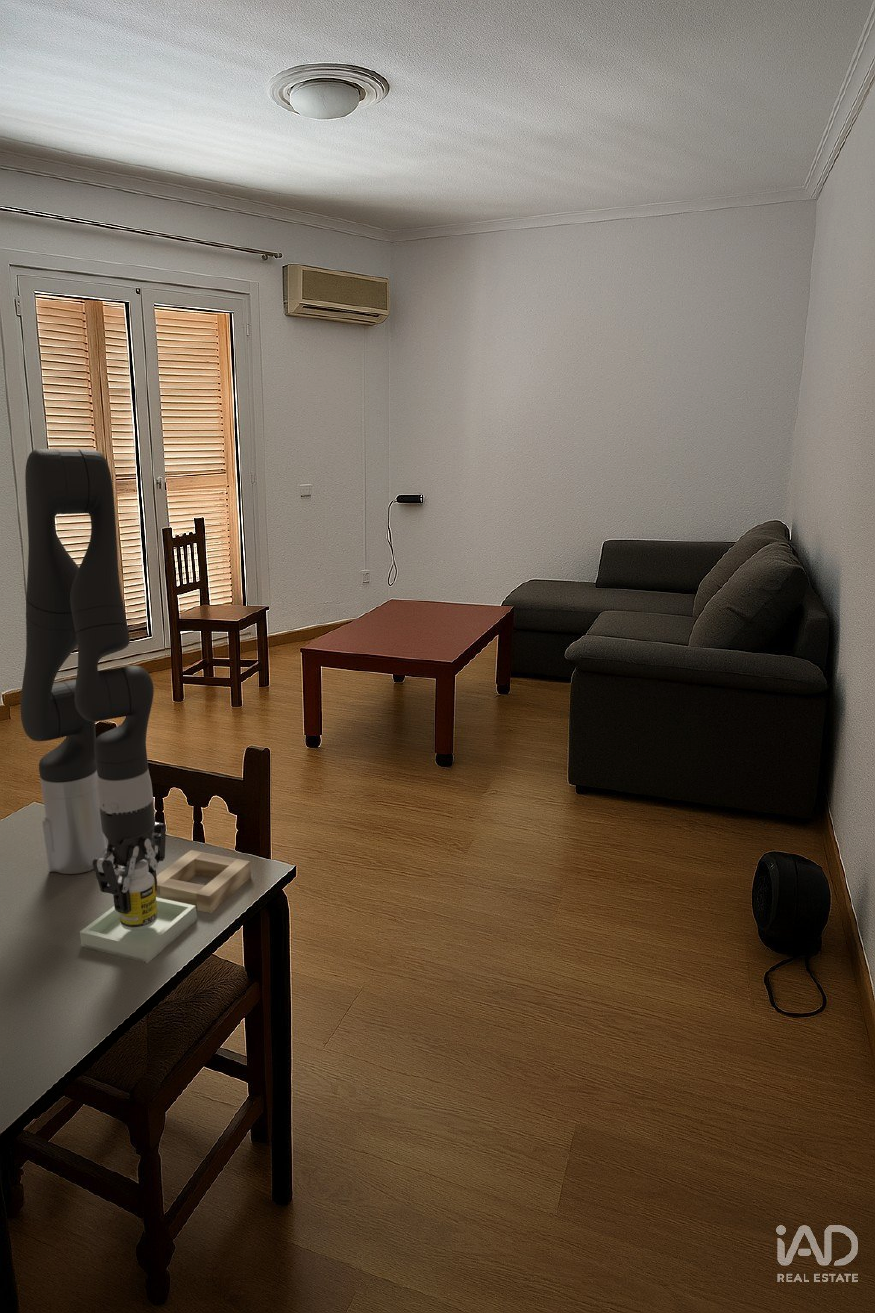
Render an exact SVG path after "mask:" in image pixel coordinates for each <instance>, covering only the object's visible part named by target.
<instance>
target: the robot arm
mask: <svg viewBox="0 0 875 1313" xmlns="http://www.w3.org/2000/svg"><path fill="white" fill-rule="evenodd" d="M24 471H25V473H24V474H25V476H24V477H25V478H24V481H25V485H24V486H25V502H26V518H27V519H26V520H27V538H28V540H27V541H28V552H27V553H28V554H27V556H28V558H27V560H28V561H27V580H26V592H25V593H26V596H25V597H26V598H25V623H26V624H25V625H26V626H25V627H26V628H25V629H26V630H25V631H26V632H25V635H26V637H25V638H26V639H25V640H26V641H25V642H26V644H25V664H24V671H23V678H22V685H21V686H22V687H21V694H20V721H21V724H22V728H23V731H24V733H25V734H26V736H27V737H28V738H29V739H30V740H32V741H34V742H38V743H39V742H47V741H52V740H56V739H61V738H64V740H63V741H62V742H61V743H60V744H58V746H56V747H54V749H52V750H50V751H49V752H47V753H46V754H45V755H43V756H42V758H40V760H39V762H38V772H39V777H40V778H39V779H40V786H41V793H42V800H43V808H44V816H45V817H44V819H43V821H42V831H43V837H44V843H45V846H44V847H45V853H46V859H47V865H48V866H47V867H48V872H49V873H51V872H54V873H59V874H63V875H73V874H75V875H76V874H82V873H86V872H90V871H92V870H94V874H95V876H96V880H97V883H98V886H99V890H100V892H101V893H103V894H106V893H107V894H110V895H112V896H113V907H114V906H115V910H116V911H118V912H119V913H124V914H128V913H129V912H130V911H131V902H130V893H129V890H128V886H129V880H130V877H131V876H132V875H133V873H134V867H135V864H136V863H137V862H138V861H141V860H143V859H145V860H147V862H148V867H149V871H148V872H149V873H151V874H152V875H153V877H154V882H155V892H156V891H157V878H156V877H157V870H158V868H159V862H163V861H164V860H165V857H166V839H167V838H166V836H167V833H166V832H167V825H166V823H162V822H158V821H156V816H155V815H156V814H155V805H154V796H153V795H154V794H153V785H152V779H151V776H150V771H149V763H148V753H147V731H148V727H149V726H148V725H149V720H150V715H151V712H152V707H153V701H154V692H155V690H154V689H155V688H154V682H153V679H152V677H151V675H150V673H148V671H147V670H146V669H145V668H144V667H142V666H139V665H128V666H122V667H116V668H109V669H102V670H99V669H98V666H99V661H100V660H101V659H102V658H105V657H106V656H109V655H111V654H116V653H117V652H121V651H123V650H124V649H126V648H127V647H128V646H129V644H130V640H131V639H130V632H129V627H128V621H127V617H126V611H125V607H124V600H123V598H122V591H121V585H120V576H119V574H120V573H119V561H118V559H119V558H118V543H117V541H118V539H117V537H118V536H117V522H116V511H115V510H116V509H115V496H114V487H113V486H114V485H113V478H112V473H111V469H110V467H109V464H108V460H107V459H106V457H105V456H104V454H103V453H102V452H100V451H98V450H96V449H89V448H88V449H87V448H37V449H34V450H32V451H31V452H30V453H29V455H28V457H27V459H26V463H25V470H24ZM77 514H78V515H79V514H81V515H82V514H88V515H89V517H90V538H89V542H88V546H87V548H86V551H85V554H84V556H83V559H82V561H81V563H80V565H78V564H77V562H76V561H75V560H74V559H73V558H72V556H71V555H70V554H69V553H68V551H67V550H66V548H65V547H64V544H63V543H62V541H61V539H60V538H59V536H58V533H57V532H56V525H55V519H56V516H57V515H77ZM76 648H77V670H76V679H69V680H63V681H59V682H55V679H56V676H57V675H58V673H59V670H60V669H61V667H62V666H63V665H64V663H65V662H66V661H67V660H68V658H69V657H70V656H71V654H72V653H73V652H74V650H75V649H76ZM123 717H125V718H124V720H123V721H122V723H121V724H119V725H118V726H115V727H114V728H112V729H110V730H106V731H105V732H103V733H101V734H99V735H98V736H97V735H96V734H97V733H96V722H97V723H98V722H101V721H107V720H113V719H119V718H123ZM155 847H157V851H156V848H155ZM119 866H124V867H126V870H124V869H120V867H119ZM121 876H122V881H121V883H118V879H119V878H120V877H121Z"/></svg>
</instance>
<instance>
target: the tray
mask: <svg viewBox="0 0 875 1313" xmlns="http://www.w3.org/2000/svg"><path fill="white" fill-rule="evenodd" d="M156 905H157V920H156V922H155V923H154V924H153V925H151V926H150V927H148V928H145V929H142V930H127V929H125V928H123V927H122V925H121V922H120V913H119V912H118V911H116V910H115V906H114V905H113V906H112V907H111V908H110V909H108V910H106V912H104V913H103V914H102V915H100V916H99V917H98V918H96V919H94V921H92V922H91V923H90V924H88V925H87V926H86V927H84V928H82V929H81V930H80V931H79V937H80V938H79V939H80V943H81V944H80V946H81V947H83V948H85V949H90V950H94V951H98V952H101V953H104V954H105V953H106V954H109V955H114V956H118V957H122V958H126V959H131V960H133V961H139V962H143V963H146V964H148V963H150V962H151V961H152V960H153V959H154V958H156V956H157V955H159V954H160V953H161V952H162V951H163V950H165V948H167V947H168V946H169V945H171V943H172V942H174V941H175V940H176V939H177V938H178V937H179V936H180V935H181V934H183V933H184V932H185V931H186V930H187V929H188V928H190V926H192V925H193V924H194V923H195V922H196V921H197V920H198V917H197V916H198V915H197V910H196V906H195V905H190V904H186V903H181V902H176V901H172V900H167V899H162V898H158V897H156Z"/></svg>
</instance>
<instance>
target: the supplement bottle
mask: <svg viewBox="0 0 875 1313" xmlns="http://www.w3.org/2000/svg"><path fill="white" fill-rule="evenodd" d="M119 868H120V869H124V870H126V867H124V866H120V867H119ZM148 871H149V867H148V862H147V860H145V859H143V860H141V861H138V862H137V863H136V864H135V867H134V873H133V875H132V876H131V877H130V880H129V886H128V890H129V893H130V902H131V911H130V912H129V913H128V914H124V913H120V922H121V925H122V927H123V928H125V929H127V930H142V929H145V928H148V927H150V926H151V925H153V924H154V923H155V922H156V920H157V905H156V894H155V882H154V877H153V875H152V874H151V873H149V872H148ZM121 881H122V876H119V879H118V883H121Z"/></svg>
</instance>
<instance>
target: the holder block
mask: <svg viewBox="0 0 875 1313" xmlns="http://www.w3.org/2000/svg"><path fill="white" fill-rule="evenodd" d="M251 870H252V869H251V860H245V859H240V858H237V857H236V858H234V857H229V856H225V855H220V854H219V855H218V854H213V853H208V852H203V851H198V850H193V849H190V850H189V851H188V852H186V853H185V854H183V855H182V856H181V857H179V858H178V859H176V861H174V862H173V863H171V864H170V865H168V867H166V868H165V869H164V870H162V871H161V872H160V873H158V874H156V876H157V877H156V878H157V891H156V892H155V894H156V897H158V898H162V899H167V900H172V901H176V902H181V903H186V904H190V905H195V906H196V911H200V912H204V913H209V914H212V912H214V911H215V909H217V908H219V906H220V905H221V904H222V903H224V902H225V901H226V900H227V899H228V898H229V897H231V896H232V895H233V894H234V893H235V892H236V891H237V890H238V889H239V888H241V885H242V884H243V885H244V884H245V883H246V882H247V881H248V880H250V879H251V878H252V871H251ZM195 875H197V876H201V877H207V878H211V880H210V881H209V882H207V884H206V885H203V884H199V883H198V884H197V883H193V882H189V881H190V880H191V879H192V878H193V877H194V876H195ZM244 882H245V883H244ZM243 885H242V886H243Z"/></svg>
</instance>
